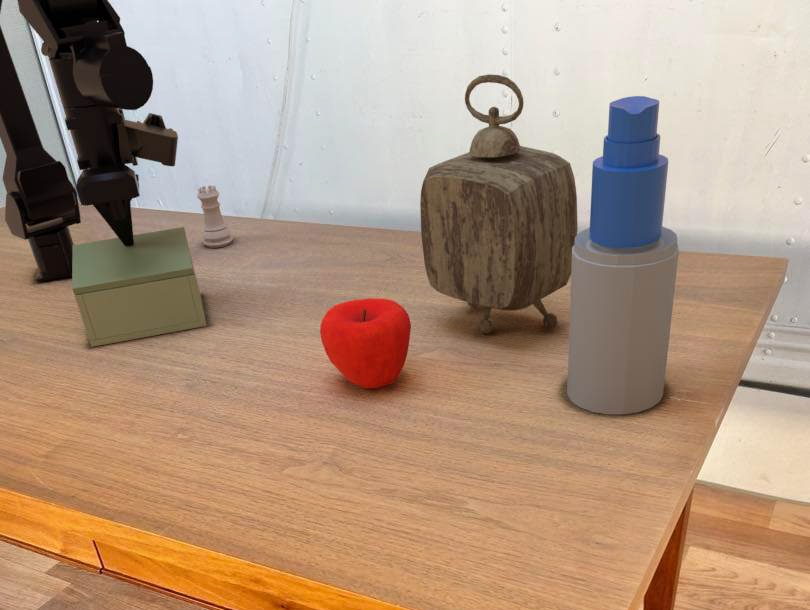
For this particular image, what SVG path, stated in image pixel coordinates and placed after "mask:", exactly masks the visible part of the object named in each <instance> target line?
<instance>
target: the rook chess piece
mask: <svg viewBox="0 0 810 610" xmlns="http://www.w3.org/2000/svg"><path fill="white" fill-rule="evenodd" d="M197 190H198V192H197V195H196V197H197V199H198V200H200V202H201V206H200V208H201V209H202V211H203V217H204V227H203V231H202V238H203V239H204V240H203V244H204V245H205V247H207V248H210V249H219V248H223V247H226V246H228V245H230V244H231V243H232V242H233V240H234V238H233V236H231V235H232V231H231V229H230V228H229V227H228V225H227V223H225V220H224V217H223V215H222V212H221V207H220V206H221V203H220V202H219V201H218V199H219V196H220V192H219V190H217V188H216V185H207V187H206V186H205V185H204V186H203V185H202V186H201V187H198V188H197Z"/></svg>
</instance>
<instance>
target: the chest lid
mask: <svg viewBox="0 0 810 610" xmlns="http://www.w3.org/2000/svg"><path fill="white" fill-rule="evenodd" d="M133 238H134V244H133V245H131V246H125V245H124V244H123V243H122V242H121V240H120V239H119V238H118V237H114V238H108V239H102V240H96V241H90V242H85V243H77V244H74V245H73V259H72V276H71V277H72V279H71V283H72V284H71V290H72V292H73V295H74V296H75V295H76V294H82V293H87V292H93V291H99V290H105V289H110V288H116V287H122V286H128V285H133V284H139V283H145V282H151V281H156V280H162V279H168V278H174V277H179V276H185V275H191V274H194V270H195V269H194V270H193V266H194V265H193V266H192V262H193V260H192V261H191V258H192V255H191V256H190V254H191V250H190V247H189V242H188V238H187V233H186V228H185V226H181V227H176V228H175V227H174V228H170V229H163V230H156V231H151V232H150V231H149V232H145V233H138V234H133ZM189 250H190V251H189Z"/></svg>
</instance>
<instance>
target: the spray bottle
mask: <svg viewBox="0 0 810 610" xmlns="http://www.w3.org/2000/svg"><path fill="white" fill-rule="evenodd" d="M659 112H660V100H659V99H657V98H651V97H648V96H645V95H634V96H627V97H626V96H625V97H621V98H619V99H616V100H613V101H611V102H609V108H608V124H607V125H608V126H607V135H605V136H604V137H603V146H602V156H599V157H597V158H595V159H594V160H593V161H592V167H591V168H592V169H591V170H592V171H591V190H590V191H591V193H590V216H589V227H588V228H585V229H584V230H581V231H579V232H578V233H577V236H576V237H575V245H574V246H573V247H572V265H571V276H570V296H569V297H570V299H569V304H570V305H569V327H568V328H569V330H568V357H567V358H568V359H567V384H566V385H567V387H566V389H567V390H566V391H567V392H566V395H567V397H568V398H569V400H570V402H571V403H573V404H574V405H576V406H577V407H579V408H581V409H584V410H586V411H589V412H592V413H597V414H604V415H618V416H619V415H620V416H621V415H622V416H623V415H629V414H637V413H640V412H643V411H646V410H648V409H651V408H653V407H654V406H656V405H657V404H659V403H660V401H661V400H662V399H663V396H664V391H665V390H664V389H665V380H666V372H667V371H666V370H667V362H668V353H669V344H670V335H671V326H672V317H673V309H674V308H673V307H674V301H675V291H676V281H677V274H678V273H677V272H678V264H679V263H678V262H679V253H680V248H679V244H678V241H679V240H678V235H677V233H676V232H675V231H673V230H672V229H670V228H668V227H665V226H663V222H664V214H665V213H664V212H665V203H666V202H665V201H666V192H667V191H666V190H667V180H668V171H669V158H668V157H666V156H665V155H663V154H660V146H661V134H660V133H658V124H659V123H658V121H659Z"/></svg>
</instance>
